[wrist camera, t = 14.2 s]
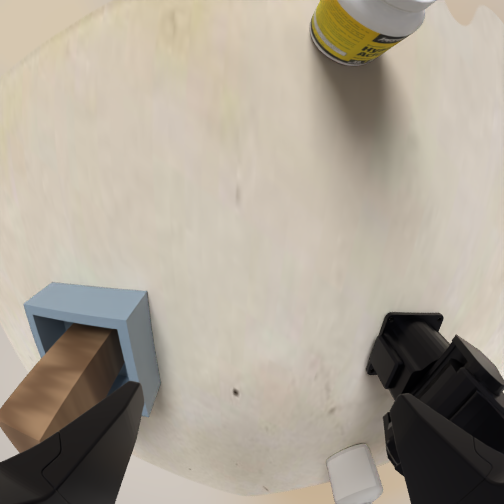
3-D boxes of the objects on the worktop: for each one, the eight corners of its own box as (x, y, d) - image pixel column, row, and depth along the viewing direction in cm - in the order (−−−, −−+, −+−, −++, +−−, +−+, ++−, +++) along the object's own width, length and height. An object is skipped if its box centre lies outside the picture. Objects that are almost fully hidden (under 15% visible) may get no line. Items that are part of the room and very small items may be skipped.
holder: (147, 291, 21) (126, 320, 17) (161, 387, 24) (150, 421, 20) (52, 282, 21) (23, 303, 17) (77, 371, 24) (58, 398, 20)
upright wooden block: (117, 323, 22) (39, 440, 9) (125, 361, 23) (67, 477, 10) (78, 317, 22) (-6, 417, 9) (88, 354, 23) (21, 455, 10)
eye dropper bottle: (327, 449, 28) (345, 531, 17) (371, 440, 28) (397, 516, 16) (324, 465, 29) (339, 539, 18) (364, 457, 29) (386, 527, 18)
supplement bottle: (344, 80, 17) (413, 29, 8) (292, 26, 16) (321, -55, 6) (391, 49, 16) (467, 1, 7) (343, -1, 15) (392, -72, 5)
